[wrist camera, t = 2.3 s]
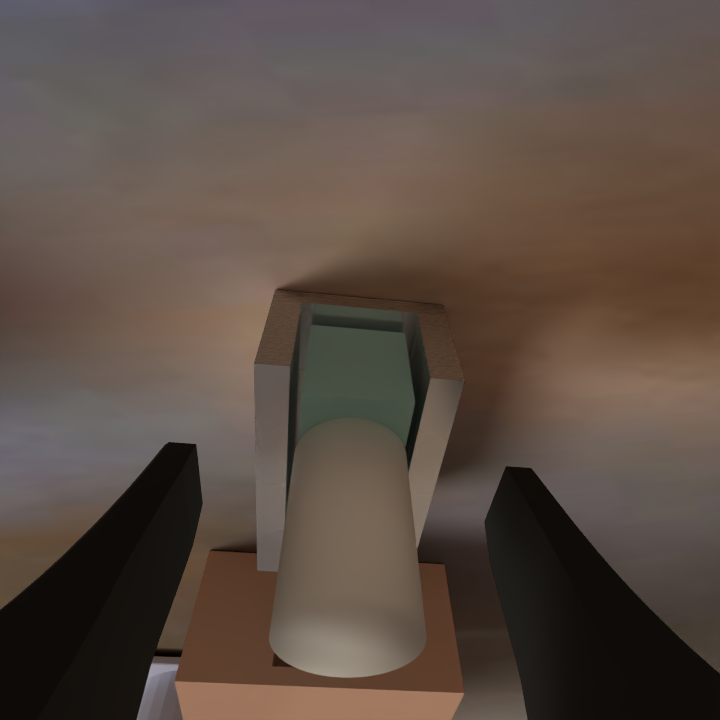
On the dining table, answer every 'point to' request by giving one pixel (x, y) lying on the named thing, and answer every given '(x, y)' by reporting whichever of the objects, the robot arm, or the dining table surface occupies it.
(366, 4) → the dining table surface
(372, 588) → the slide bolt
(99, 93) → the dining table surface
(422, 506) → the grey u-channel
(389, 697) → the socket block
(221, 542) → the dining table surface
